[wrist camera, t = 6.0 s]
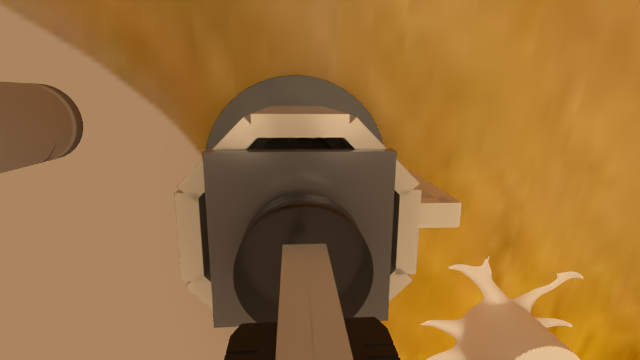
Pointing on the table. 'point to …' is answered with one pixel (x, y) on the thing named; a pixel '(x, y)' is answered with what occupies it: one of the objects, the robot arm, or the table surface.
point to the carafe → (310, 178)
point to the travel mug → (36, 124)
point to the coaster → (289, 102)
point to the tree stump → (503, 324)
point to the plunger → (300, 228)
